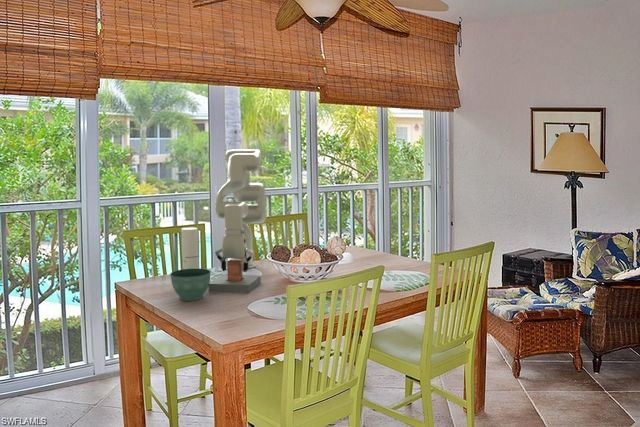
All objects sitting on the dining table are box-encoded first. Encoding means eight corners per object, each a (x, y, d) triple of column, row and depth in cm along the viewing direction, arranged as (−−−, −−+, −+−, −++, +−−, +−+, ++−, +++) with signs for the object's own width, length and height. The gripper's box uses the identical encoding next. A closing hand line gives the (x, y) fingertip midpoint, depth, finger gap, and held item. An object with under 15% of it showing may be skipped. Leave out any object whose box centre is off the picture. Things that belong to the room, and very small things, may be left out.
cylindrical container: (195, 285, 273) (193, 230, 270) (180, 284, 274) (178, 229, 271) (201, 281, 280) (200, 227, 277) (187, 281, 281) (185, 227, 278)
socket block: (222, 281, 280) (222, 274, 279) (260, 283, 277) (260, 275, 276) (208, 291, 262) (208, 283, 262) (249, 293, 259) (248, 285, 259)
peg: (231, 285, 272) (231, 259, 271) (242, 286, 271) (241, 259, 270) (227, 288, 267) (227, 261, 266) (238, 289, 266) (238, 261, 265)
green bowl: (163, 299, 251) (162, 273, 250) (194, 291, 263) (193, 266, 262) (187, 305, 241) (186, 278, 239) (219, 297, 253) (218, 271, 252)
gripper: (255, 231, 268) (256, 269, 271) (217, 230, 271) (218, 268, 274) (250, 234, 261) (251, 273, 263) (211, 233, 264) (213, 272, 266)
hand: (234, 270), depth 268 cm, fingers open, 9 cm apart
